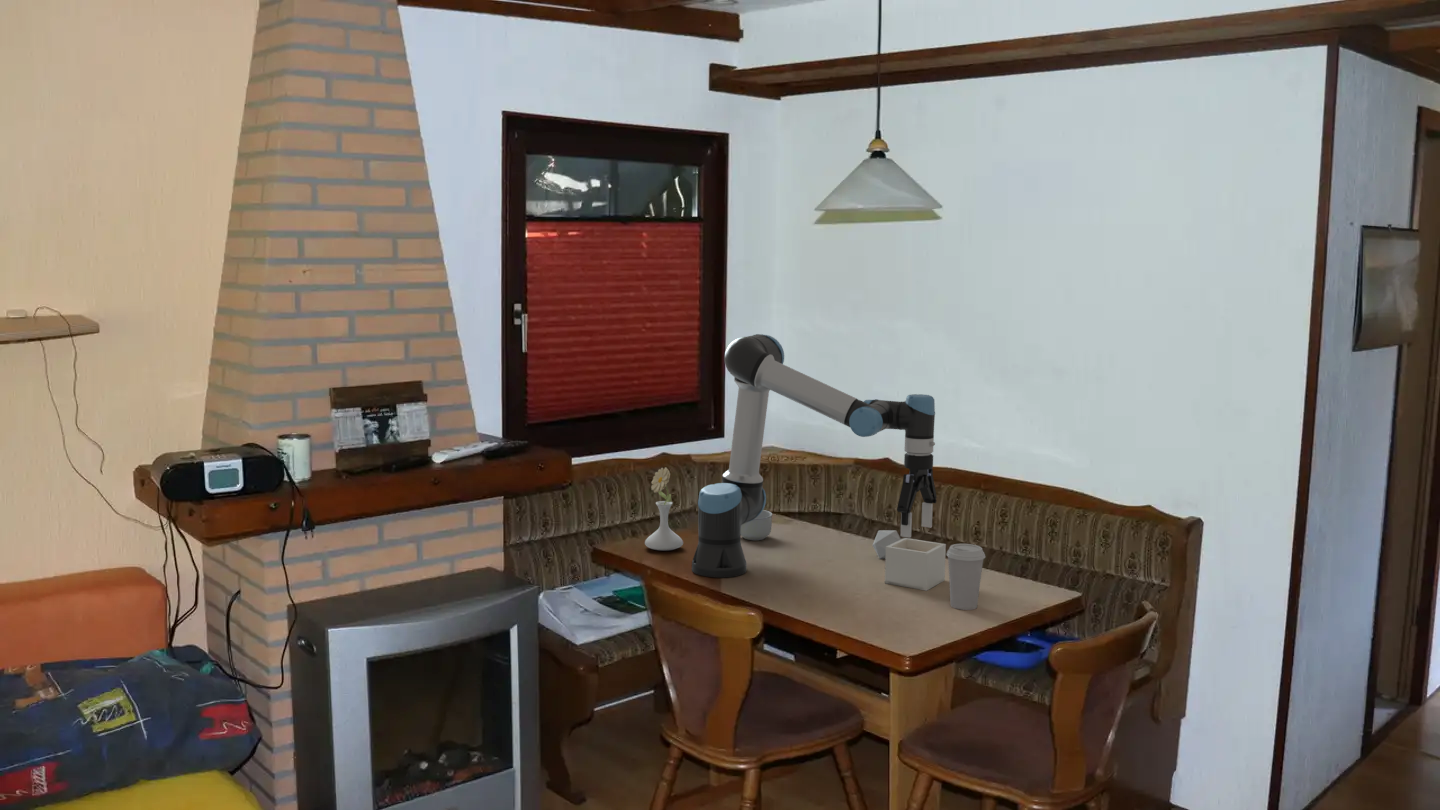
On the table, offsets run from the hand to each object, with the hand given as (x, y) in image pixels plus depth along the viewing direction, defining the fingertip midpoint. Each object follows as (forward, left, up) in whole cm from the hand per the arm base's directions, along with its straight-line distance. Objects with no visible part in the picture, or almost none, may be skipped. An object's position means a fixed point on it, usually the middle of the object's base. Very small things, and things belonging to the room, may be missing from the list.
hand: (916, 531), depth 313 cm
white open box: (0, 0, -14) cm, 14 cm away
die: (+19, +17, -14) cm, 29 cm away
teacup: (+16, +62, -14) cm, 66 cm away
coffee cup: (-13, -19, -14) cm, 27 cm away
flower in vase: (-11, +75, -14) cm, 77 cm away
